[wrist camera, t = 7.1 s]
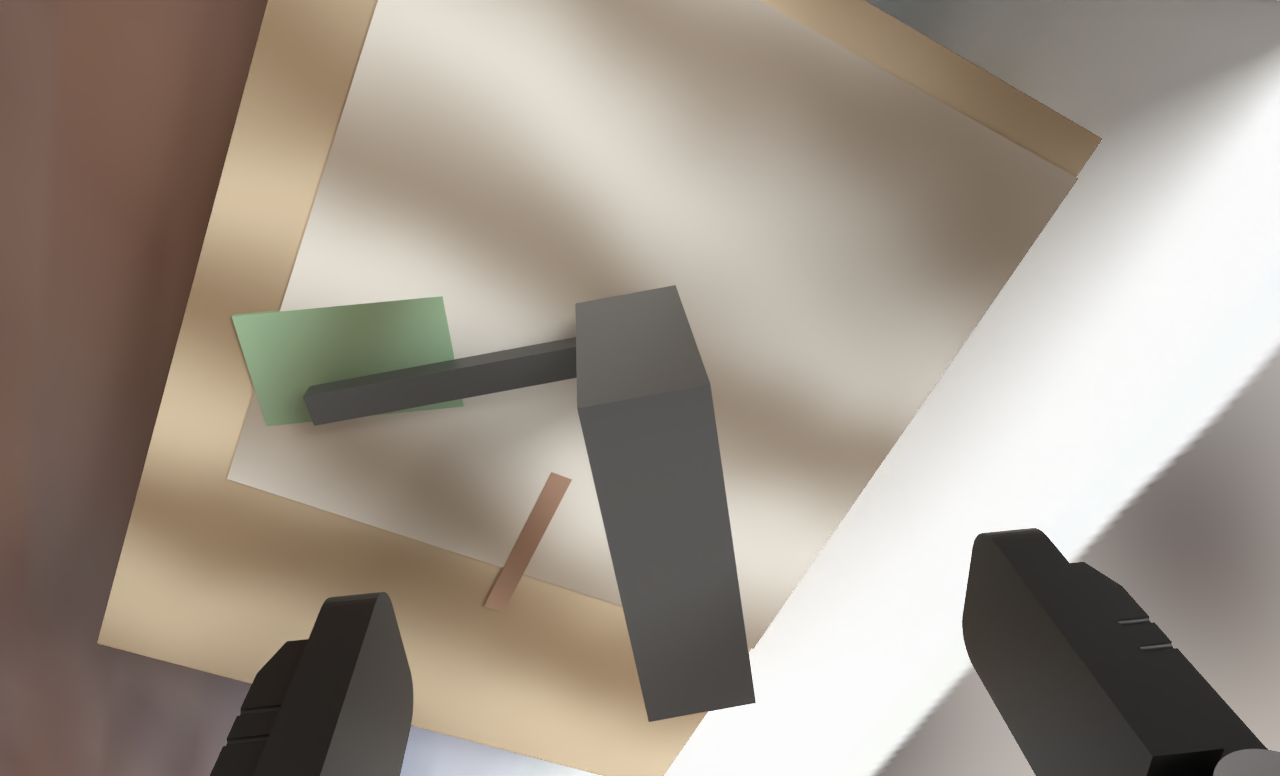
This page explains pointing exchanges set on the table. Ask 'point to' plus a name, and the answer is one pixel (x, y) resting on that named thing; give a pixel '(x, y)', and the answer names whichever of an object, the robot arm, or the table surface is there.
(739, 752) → the table surface
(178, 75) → the table surface
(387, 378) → the lever
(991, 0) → the table surface
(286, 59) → the dial board
